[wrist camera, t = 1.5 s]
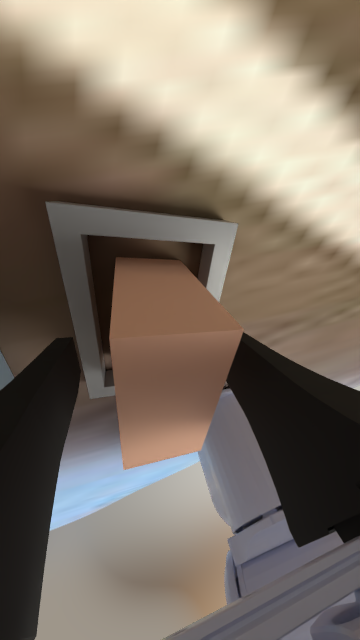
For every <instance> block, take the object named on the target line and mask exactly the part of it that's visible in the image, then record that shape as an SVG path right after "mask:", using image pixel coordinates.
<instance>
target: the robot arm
mask: <svg viewBox="0 0 360 640" xmlns="http://www.w3.org/2000/svg"><path fill="white" fill-rule="evenodd" d="M80 373H81V370H80V366H79V361H78V357H77V353H76V349H75V345H74V341H73V337H69V338H56V339H55V340H54V341H53V342H52V343H51V344H50V345H49V346H48V347H47V348H46V349H45V350H44V351H43V352H42V353H41V354H40V355H38V356H37V357H36V358H35V359H34V360H33V361H32V362H31V363H30V364H29V365H28V366H27V367H26V368H25V369H24V370H23V371H22V372H21V373H19V374H18V375H17V376H16V377H15V378H14V379H13V380H12V381H11V382H9V383H8V384H7V385H6V386H5V387H4V388H3V389H1V390H0V640H34V639H35V637H36V634H37V625H38V615H39V607H40V599H41V590H42V582H43V573H44V565H45V558H46V551H47V544H48V536H49V529H50V522H51V516H52V509H53V503H54V496H55V490H56V484H57V478H58V472H59V466H60V461H61V456H62V452H63V447H64V443H65V440H66V436H67V432H68V428H69V425H70V421H71V417H72V413H73V410H74V406H75V402H76V398H77V394H78V388H79V381H80ZM226 381H227V383H228V385H229V387H230V389H224V390H222V393H221V395H220V398H219V401H218V404H217V407H216V409H215V412H214V415H213V418H212V421H211V423H210V426H209V429H208V432H207V435H206V437H205V440H204V443H203V446H202V449H201V451H197V452H198V455H199V458H200V462H201V465H202V468H203V471H204V475H205V478H206V482H207V485H208V488H209V491H210V495H211V498H212V501H213V504H214V506H215V508H216V510H217V512H218V513H219V515H220V517H221V518H222V519H223V520H224V521H225V522H226V523H227V524H228V525H229V526H230V527H231V529H232V532H233V534H234V535H235V536H233V537H231V538H229V539H228V543H229V547H230V550H229V551H228V554H227V557H226V567H225V593H226V600H227V605H226V606H225V607H223V608H221V609H219V610H217V611H215V612H213V613H211V614H209V615H207V616H206V617H204V618H202V619H200V620H198V621H196V622H194V623H192V624H190V625H188V626H186V627H185V628H183V629H181V630H179V631H177V632H175V633H173V634H171V635H170V636H168V637H166V638H164V639H162V640H360V391H358V390H355V389H353V388H350V387H348V386H345V385H343V384H340V383H338V382H335V381H333V380H331V379H328V378H326V377H324V376H322V375H319V374H317V373H315V372H313V371H311V370H309V369H307V368H305V367H303V366H301V365H299V364H297V363H295V362H293V361H291V360H289V359H288V358H286V357H284V356H282V355H280V354H279V353H277V352H275V351H274V350H272V349H270V348H268V347H267V346H265V345H263V344H262V343H260V342H259V341H257V340H255V339H254V338H252V337H250V336H249V335H247V334H245V333H244V332H243V334H242V337H241V340H240V342H239V345H238V348H237V351H236V354H235V356H234V359H233V362H232V365H231V368H230V370H229V373H228V376H227V379H226Z"/></svg>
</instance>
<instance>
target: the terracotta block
mask: <svg viewBox="0 0 360 640" xmlns="http://www.w3.org/2000/svg"><path fill="white" fill-rule="evenodd" d="M243 331H244V329H243V328H242V327H241V326H240V325H239V324H238V323H237V322H236V320H235V319H234V318H233V317H232V316H231V315H230V314H229V313H228V312H227V311H226V310H225V308H224V307H223V306H222V305H221V304H220V303H219V302H218V301H217V300H216V299H215V298H214V297H213V295H212V294H211V293H210V292H209V291H208V290H207V289H206V288H205V287H204V286H203V285H202V283H201V282H200V281H199V280H198V279H197V278H196V277H195V276H194V275H193V274H192V273H191V272H190V270H189V269H188V268H187V267H186V266H185V265H184V264H183V263H182V262H181V261H180V260H168V259H146V258H125V257H116V263H115V275H114V287H113V299H112V312H111V324H110V336H109V341H110V350H111V359H112V368H113V377H114V386H115V395H116V404H117V414H118V423H119V432H120V441H121V450H122V459H123V468H124V470H126V469H130V468H134V467H137V466H141V465H145V464H149V463H153V462H157V461H161V460H165V459H169V458H173V457H177V456H181V455H185V454H189V453H193V452H197V451H201V449H202V446H203V443H204V440H205V437H206V435H207V432H208V429H209V426H210V423H211V421H212V418H213V415H214V412H215V409H216V407H217V404H218V401H219V398H220V395H221V393H222V390H223V387H224V384H225V382H226V379H227V376H228V373H229V370H230V368H231V365H232V362H233V359H234V356H235V354H236V351H237V348H238V345H239V342H240V340H241V337H242V334H243Z"/></svg>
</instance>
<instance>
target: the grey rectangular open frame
mask: <svg viewBox="0 0 360 640" xmlns="http://www.w3.org/2000/svg"><path fill="white" fill-rule="evenodd" d="M45 203H46V207H47V212H48V216H49V220H50V225H51V229H52V234H53V238H54V243H55V247H56V251H57V256H58V260H59V265H60V269H61V273H62V278H63V282H64V287H65V291H66V295H67V300H68V304H69V309H70V313H71V317H72V322H73V326H74V331H75V335H76V340H77V344H78V348H79V353H80V357H81V362H82V366H83V370H84V375H85V379H86V384H87V388H88V392H89V397H90V399H94V398H101V397H108V396H115V386H114V377H113V370H107V371H106V370H105V362H104V355H103V348H102V341H101V333H100V326H99V319H98V312H97V304H96V297H95V290H94V283H93V276H92V268H91V261H90V254H89V247H88V239H87V235H98V236H111V237H125V238H138V239H152V240H165V241H178V242H192V243H203V249H202V255H201V261H200V267H199V273H198V278H197V279H198V280H199V281H200V282H201V283H202V285H203V286H204V287H205V288H206V289H207V290H208V291H209V292H210V293H211V294H212V295H213V297H214V298H215V299H216V300H217V301H218V302H219V300H220V296H221V292H222V288H223V284H224V280H225V276H226V272H227V268H228V264H229V260H230V256H231V252H232V248H233V244H234V240H235V236H236V231H237V227H238V223H234V222H229V221H225V220H217V219H208V218H200V217H191V216H182V215H174V214H165V213H156V212H148V211H139V210H130V209H122V208H113V207H104V206H96V205H87V204H78V203H70V202H61V201H51V202H45Z"/></svg>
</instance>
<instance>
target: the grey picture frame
mask: <svg viewBox="0 0 360 640" xmlns="http://www.w3.org/2000/svg"><path fill="white" fill-rule="evenodd" d="M13 379H14V376H13V374H12V372H11V370H10V368H9V366H8V364H7V362H6V361H5V359H4V357H3V355H2V353H1V351H0V390H1V389H3V388H4V387H5V386H6V385H7V384H8V383H9V382H11V381H12V380H13Z"/></svg>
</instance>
